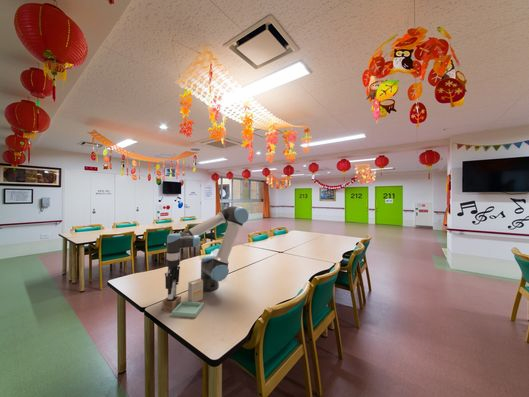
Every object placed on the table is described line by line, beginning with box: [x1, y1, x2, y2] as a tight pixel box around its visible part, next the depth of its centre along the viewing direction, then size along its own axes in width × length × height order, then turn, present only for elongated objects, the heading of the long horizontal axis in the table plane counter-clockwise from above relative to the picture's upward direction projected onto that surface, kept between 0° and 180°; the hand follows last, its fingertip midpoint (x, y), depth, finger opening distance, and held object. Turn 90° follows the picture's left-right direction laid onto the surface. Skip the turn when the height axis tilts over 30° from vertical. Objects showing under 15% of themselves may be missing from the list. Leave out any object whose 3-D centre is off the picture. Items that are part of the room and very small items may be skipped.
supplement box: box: [187, 278, 204, 302], centre depth 132 cm, size 8×5×13 cm, turn 141°
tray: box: [171, 300, 205, 319], centre depth 120 cm, size 12×14×2 cm
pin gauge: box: [168, 279, 176, 301], centre depth 124 cm, size 4×4×15 cm
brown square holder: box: [162, 295, 182, 312], centre depth 124 cm, size 8×8×5 cm
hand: (172, 297), depth 124 cm, fingers closed on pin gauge, 3 cm apart
